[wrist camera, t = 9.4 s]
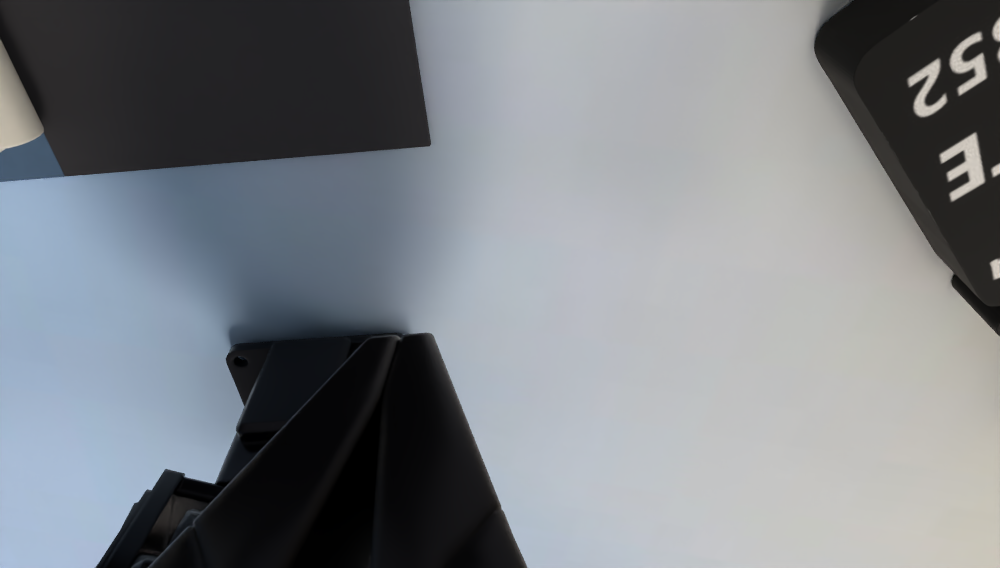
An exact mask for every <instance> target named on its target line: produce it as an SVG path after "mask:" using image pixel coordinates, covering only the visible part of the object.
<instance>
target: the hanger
mask: <svg viewBox="0 0 1000 568" xmlns="http://www.w3.org/2000/svg"><path fill="white" fill-rule="evenodd" d="M43 132H44V128H43V125H42V123H41V121H40V119H39V117H38V115H37V113H36V111H35V109H34V107H33V105H32V103H31V101H30V99H29V97H28V95H27V93H26V90H25V88H24V86H23V84H22V82H21V80H20V78H19V76H18V74H17V72H16V70H15V68H14V66H13V64H12V62H11V60H10V58H9V56H8V53H7V51H6V49H5V47H4V45H3V43H2V41H1V39H0V152H2V151H3V150H5V149H6V148H11V147H15V146H19V145H22V144H25V143H27V142H30V141H32V140H34V139H36V138H37V137H39V136H40V135H41V134H42V133H43Z"/></svg>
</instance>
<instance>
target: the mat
mask: <svg viewBox="0 0 1000 568" xmlns="http://www.w3.org/2000/svg"><path fill="white" fill-rule="evenodd" d="M0 39H1V41H2V43H3V45H4V47H5V49H6V51H7V53H8V56H9V58H10V60H11V62H12V64H13V66H14V68H15V70H16V72H17V74H18V76H19V78H20V80H21V82H22V84H23V86H24V88H25V90H26V93H27V95H28V97H29V99H30V101H31V103H32V105H33V107H34V109H35V111H36V113H37V115H38V117H39V119H40V121H41V123H42V125H43V128H44V132H43V133H42V134H41V135H40V136H39V137H37V138H36V139H34V140H32V141H30V142H27V143H25V144H22V145H19V146H15V147H11V148H6V149H5V150H3V151H2V152H0V182H4V181H16V180H28V179H40V178H52V177H64V176H76V175H88V174H100V173H112V172H124V171H136V170H148V169H160V168H172V167H184V166H196V165H208V164H220V163H232V162H245V161H257V160H269V159H281V158H293V157H305V156H317V155H329V154H341V153H353V152H365V151H377V150H389V149H401V148H413V147H425V146H430V145H431V141H430V134H429V128H428V121H427V115H426V109H425V102H424V96H423V89H422V83H421V76H420V70H419V64H418V57H417V51H416V44H415V38H414V32H413V25H412V19H411V12H410V6H409V0H0Z"/></svg>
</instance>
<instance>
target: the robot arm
mask: <svg viewBox="0 0 1000 568" xmlns="http://www.w3.org/2000/svg"><path fill="white" fill-rule="evenodd" d="M238 356H240V357H243V358H245V359H246V360H242V359H240V358H239V357H238ZM226 362H227V365H228V368H229V370H230V372H231V375H232V377H233V380H234V382H235V384H236V387H237V389H238V392H239V394H240V396H241V399H242V401H243V404H244V406H245V407H244V410H243V412H242V414H241V417H240V419H239V421H238V424H237V426H236V432H237V433H236V435H235V437H234V440H233V442H232V445H231V447H230V449H229V452H228V454H227V456H226V459H225V461H224V464H223V466H222V468H221V471H220V473H219V475H218V478H217V480H216V483H215V484H212V483H208V482H204V481H200V480H195V479H191V478H187V477H185V474H184V473H180V472H176V471H172V470H168V469H165V471H164V472H163V474H162V475H161V477H160V478H159V480H158V481H157V483H156V485H155V486H154V488H153V489H152V491H151V490H146V492H145V493H144V495H143V496H142V498H141V499H140V501H139V502H137V503H134V505H133V507H132V509H131V511H130V513H129V515H128V516H127V518H126V520H125V522H124V524H123V526H122V528H121V530H120V531H119V533H118V535H117V536H116V538H115V539H114V541H113V542H112V544H111V545H110V547H109V548H108V550H107V551H106V553H105V555H104V556H103V558H102V559H101V561H100V562H99V564H98V565H97V566H96V567H95V568H527V566H526V563H525V561H524V559H523V557H522V554H521V552H520V550H519V548H518V545H517V543H516V541H515V539H514V537H513V534H512V532H511V529H510V526H509V524H508V521H507V519H506V516H505V514H504V512H503V510H501V505H500V502H499V500H498V497H497V495H496V492H495V490H494V487H493V485H492V482H491V480H490V477H489V474H488V472H487V469H486V467H485V464H484V462H483V459H482V457H481V454H480V452H479V449H478V447H477V444H476V442H475V439H474V437H473V434H472V432H471V429H470V427H469V424H468V422H467V419H466V417H465V414H464V412H463V409H462V407H461V404H460V402H459V399H458V397H457V394H456V392H455V389H454V387H453V384H452V381H451V379H450V376H449V374H448V371H447V369H446V366H445V364H444V361H443V359H442V356H441V354H440V351H439V349H438V346H437V344H436V341H435V339H434V336H433V335H432V334H430V333H417V334H405V335H403V334H400V333H387V334H372V335H358V336H343V337H328V338H314V339H299V340H285V341H271V342H257V343H242V344H236V345H234V346H233V347H231V349H230V351H229V353H228V355H227V357H226Z"/></svg>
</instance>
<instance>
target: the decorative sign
mask: <svg viewBox="0 0 1000 568" xmlns="http://www.w3.org/2000/svg"><path fill="white" fill-rule="evenodd" d="M814 49H815V54H816V57H817V59H818V61H819V63H820V65H821V66H822V68H823V70H824V71H825V73H826V74H827V76H828V77H829V79H830V80H831V82H832V84H833V85H834V87H835V89H836V90H837V92H838V94H839V95H840V97H841V99H842V100H843V102H844V103H845V105H846V107H847V108H848V110H849V112H850V113H851V115H852V117H853V118H854V120H855V122H856V123H857V125H858V127H859V128H860V130H861V131H862V133H863V135H864V136H865V138H866V140H867V141H868V143H869V145H870V146H871V148H872V150H873V151H874V153H875V154H876V156H877V158H878V159H879V161H880V163H881V164H882V166H883V168H884V169H885V171H886V173H887V174H888V176H889V178H890V179H891V181H892V182H893V184H894V186H895V187H896V189H897V191H898V192H899V194H900V196H901V197H902V199H903V201H904V202H905V204H906V205H907V207H908V209H909V210H910V212H911V214H912V215H913V217H914V219H915V220H916V222H917V224H918V225H919V227H920V228H921V230H922V232H923V233H924V235H925V237H926V238H927V240H928V242H929V243H930V245H931V247H932V248H933V250H934V251H935V253H936V254H937V255H938V256H939V257H940V258H941V259H942V260H943V262H944V263H945V264H946V265H947V266H948V267H949V268H950V269H951V270H952V271H953V272H954V273H955V274H956V275H955V276H954V278H953V280H952V286H953V287H954V288H955V289H956V291H957V292H958V293H959V294H960V295H961V296H962V297H963V298H964V299H965V300H966V301H967V302H968V303H969V304H970V305H971V307H972V308H973V309H974V310H975V311H976V312H977V313H978V314H979V315H980V316H981V317H982V318H983V319H984V320H985V321H986V323H987V324H988V325H989V326H990V327H991V328H992V329H993V330H994V331H995V332H996V333H997V334H998V335H999V336H1000V0H855V1H853V2H852V3H851V4H849V5H848V6H847V7H845V8H844V9H843V10H841V11H840V12H838V13H837V14H836V15H835V16H833V17H832V18H831V19H830V20H829V21H828V22H827V23H825V25H824V26H823V27H822V28H821V30H820V32H819V34H818V36H817V38H816V41H815V47H814Z"/></svg>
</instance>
